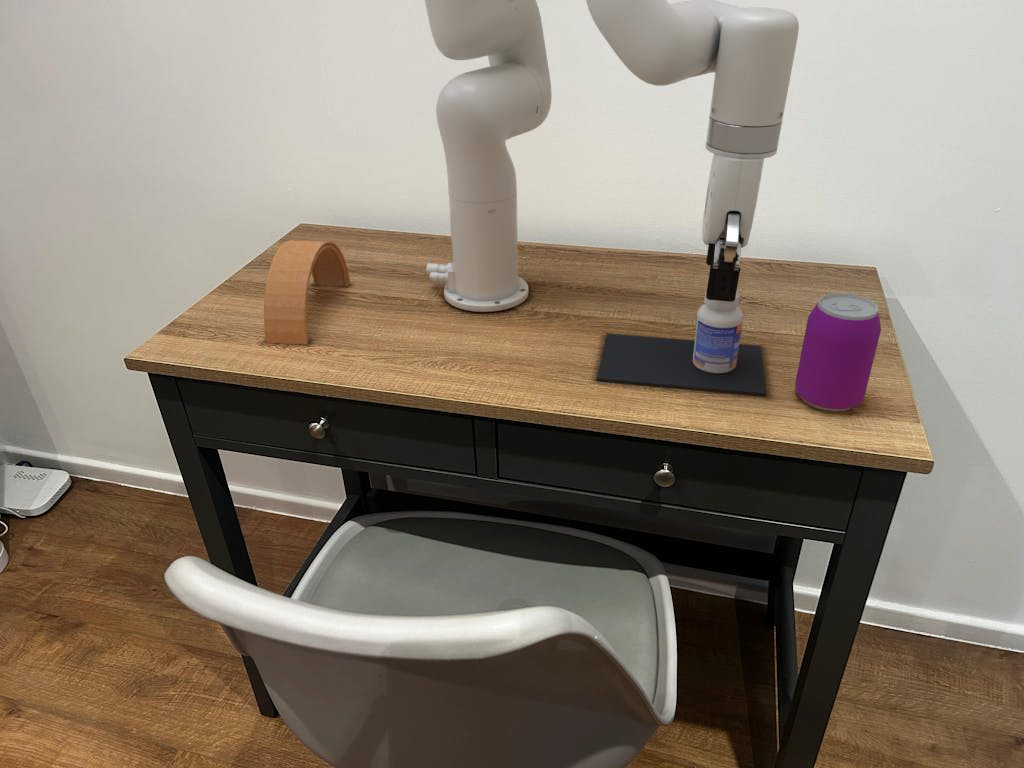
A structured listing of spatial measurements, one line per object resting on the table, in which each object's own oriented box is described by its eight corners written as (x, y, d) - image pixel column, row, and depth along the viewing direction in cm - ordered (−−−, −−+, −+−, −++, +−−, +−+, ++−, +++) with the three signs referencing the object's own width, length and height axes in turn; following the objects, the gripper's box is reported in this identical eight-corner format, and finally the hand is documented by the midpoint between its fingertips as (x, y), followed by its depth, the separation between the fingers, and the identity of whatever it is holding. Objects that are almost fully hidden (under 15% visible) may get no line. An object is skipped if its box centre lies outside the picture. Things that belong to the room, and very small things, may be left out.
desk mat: (596, 380, 98) (596, 378, 98) (606, 335, 108) (606, 333, 108) (766, 396, 95) (766, 393, 94) (760, 348, 105) (760, 345, 104)
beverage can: (855, 383, 97) (877, 291, 91) (868, 417, 90) (893, 322, 84) (789, 378, 98) (806, 288, 92) (798, 412, 91) (817, 318, 85)
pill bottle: (740, 374, 98) (751, 302, 93) (696, 375, 98) (704, 302, 93) (730, 353, 103) (740, 283, 98) (688, 353, 103) (696, 283, 98)
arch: (351, 283, 124) (343, 221, 119) (306, 344, 107) (295, 275, 102) (315, 282, 125) (306, 220, 120) (265, 342, 108) (251, 273, 103)
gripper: (707, 114, 94) (688, 251, 103) (707, 156, 79) (685, 311, 89) (773, 118, 93) (749, 256, 102) (785, 161, 78) (755, 318, 87)
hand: (719, 281), depth 95 cm, fingers open, 9 cm apart
